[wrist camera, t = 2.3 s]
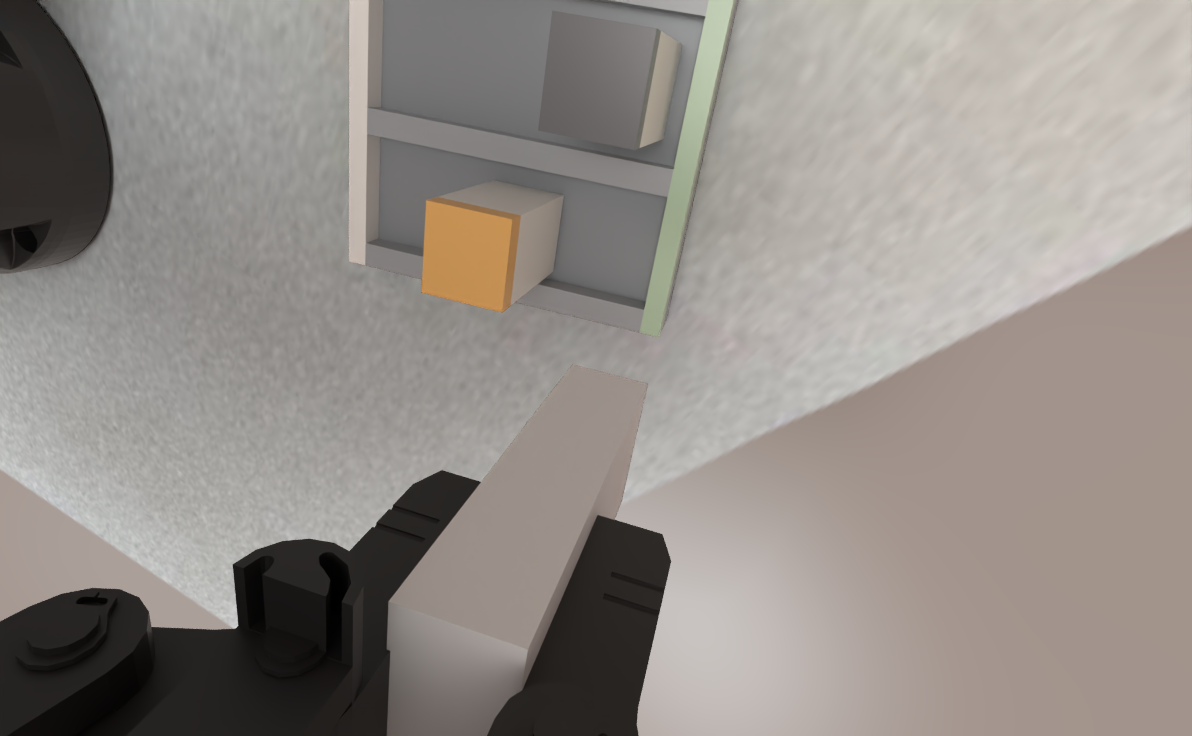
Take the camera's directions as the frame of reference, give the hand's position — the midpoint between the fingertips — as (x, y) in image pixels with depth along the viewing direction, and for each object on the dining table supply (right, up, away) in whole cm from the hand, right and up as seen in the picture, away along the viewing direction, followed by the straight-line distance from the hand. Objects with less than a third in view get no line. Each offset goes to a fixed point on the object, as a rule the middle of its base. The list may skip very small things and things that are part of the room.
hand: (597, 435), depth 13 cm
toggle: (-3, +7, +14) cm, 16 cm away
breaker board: (-2, +13, +13) cm, 18 cm away
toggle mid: (+1, +12, +11) cm, 16 cm away
